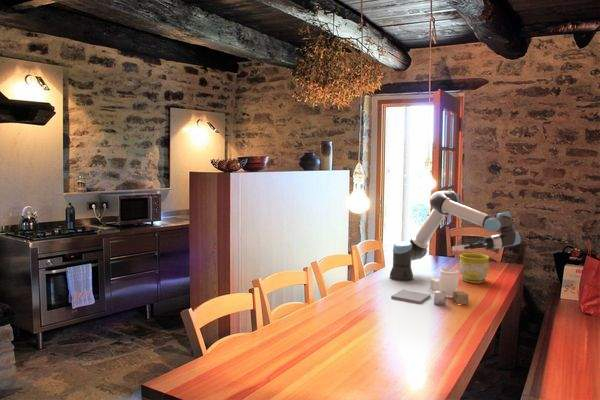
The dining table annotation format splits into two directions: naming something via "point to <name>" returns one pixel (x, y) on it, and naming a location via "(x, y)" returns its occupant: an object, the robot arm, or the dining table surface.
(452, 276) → the jar
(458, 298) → the walnut block
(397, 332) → the dining table surface
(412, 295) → the slate board
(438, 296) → the metal tin
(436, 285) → the offwhite block
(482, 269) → the flowerpot
